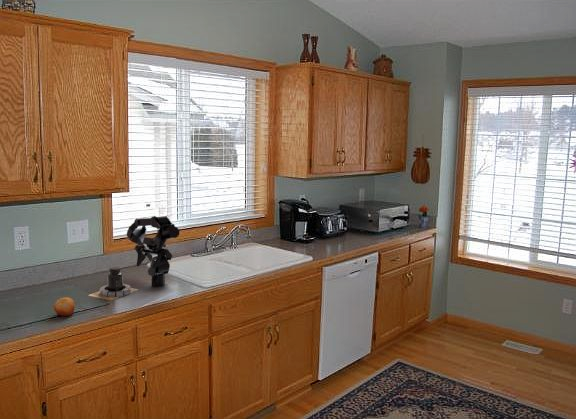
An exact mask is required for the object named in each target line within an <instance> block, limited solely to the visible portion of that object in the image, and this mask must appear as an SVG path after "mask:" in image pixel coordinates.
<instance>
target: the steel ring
mask: <svg viewBox="0 0 576 419" xmlns="http://www.w3.org/2000/svg"><path fill="white" fill-rule="evenodd" d="M131 288H132V286H131V285H130V284H127V283H123V290H119V291H108V284H105V285H103V286H101V287H100V288H99V291H100V295H101V296H103V297H119V298H121V297H126V296H128V295H129V294H131V293H130V292H131Z"/></svg>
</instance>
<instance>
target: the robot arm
mask: <svg viewBox="0 0 576 419" xmlns="http://www.w3.org/2000/svg"><path fill="white" fill-rule="evenodd" d="M146 226H150V227H152V228H155V229H157V231H156V234H155V235H154V237H147V235H146V232H147V227H146ZM179 236H180V229H179V228H178V227H177V226H175V223H172V221H171V220H170V218H169V217H168V216H167V214H162V215H161V214H160V215H153V216H150V217H137V218H135V219H134V221H133V223H131V225H130V226H128V229H127V231H126V237H127V238H128V240H130V241H131V242H132V243H134V244H136V245H135V246H134V248H133V249H134V250H135V252H136V253H137V260H136V266H137V267H139V266H141V264H142V263H143V261H145V259H146V258H147V259H148V260H149V261H150V262H149V263H150V264H149V268H148V270H147V274H148V275H149V276H150V277H151V287H152V288H158V287H163V286H168V284H167V283H166V274H167V275H168V274H169V271H170V268H171V267H170V266H171V264H170V262H169V261H171V260H172V258H173V253H172V252H171V251H170V250H169V249H167V248H166V243H167V241H169V240H173V239H176V238H178V237H179Z"/></svg>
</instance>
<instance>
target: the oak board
mask: <svg viewBox="0 0 576 419" xmlns="http://www.w3.org/2000/svg"><path fill="white" fill-rule="evenodd" d="M136 291H139V289H137V288H133V287H131V292H130V294H131V293H135V292H136ZM87 296H88V297H94V298H98V299H103V300H107V301H113V300H115V299H118V298H120V297H103V296H101V295H100V290H99V291H96V292H94V293H91V294H88V295H87Z"/></svg>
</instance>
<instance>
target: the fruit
mask: <svg viewBox="0 0 576 419" xmlns="http://www.w3.org/2000/svg"><path fill="white" fill-rule="evenodd" d="M52 307H53V310H54V312H55V314H57V315H58V316H59V315H61V316H60V317H66V316H67V315H69V316H71V315H72V314H74V312H75V308H76V305H75V301H74V300H73V299H72V298H71V297H68V296H67V297H66V296H65V297H61V298H59V299H58V300H56V301H55V303H53V306H52Z"/></svg>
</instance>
